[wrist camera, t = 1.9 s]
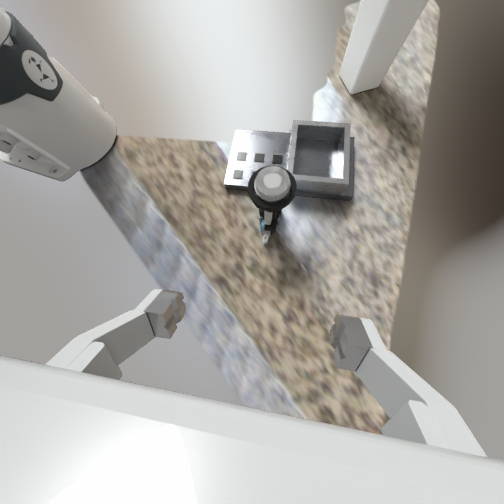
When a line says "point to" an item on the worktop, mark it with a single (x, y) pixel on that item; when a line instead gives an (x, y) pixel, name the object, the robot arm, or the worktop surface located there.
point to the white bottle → (377, 40)
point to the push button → (271, 195)
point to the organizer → (297, 158)
